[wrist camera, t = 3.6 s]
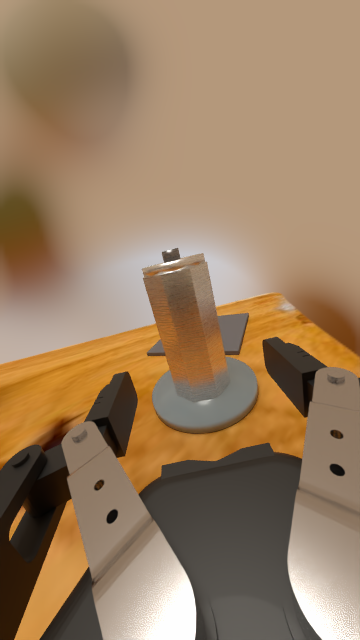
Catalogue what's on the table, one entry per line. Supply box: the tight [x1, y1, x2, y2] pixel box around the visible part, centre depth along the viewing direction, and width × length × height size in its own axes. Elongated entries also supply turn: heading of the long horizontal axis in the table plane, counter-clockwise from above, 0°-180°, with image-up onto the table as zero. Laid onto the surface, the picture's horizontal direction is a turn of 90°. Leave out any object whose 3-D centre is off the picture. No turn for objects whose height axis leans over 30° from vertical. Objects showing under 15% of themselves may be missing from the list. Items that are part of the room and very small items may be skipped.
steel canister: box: [142, 248, 230, 403], centre depth 21 cm, size 6×6×15 cm
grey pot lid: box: [152, 357, 258, 433], centre depth 23 cm, size 12×12×3 cm
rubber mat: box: [147, 313, 249, 356], centre depth 40 cm, size 16×16×1 cm
